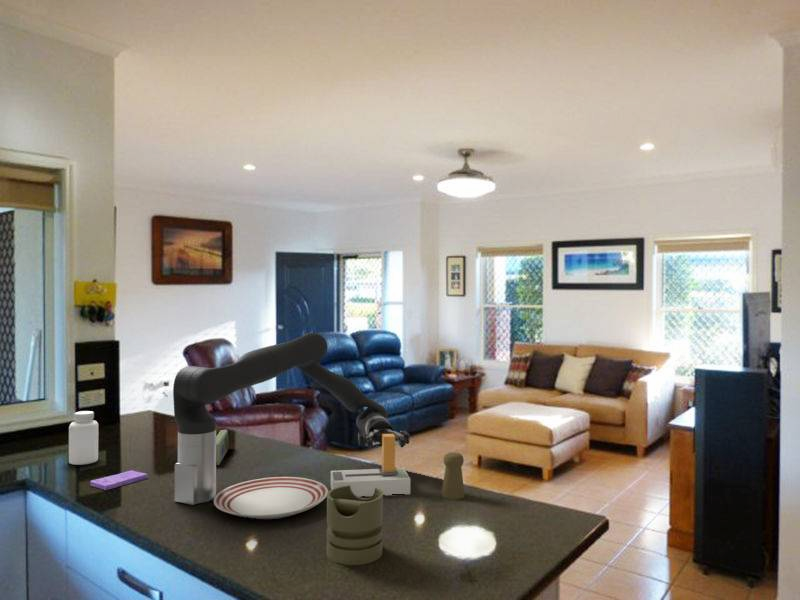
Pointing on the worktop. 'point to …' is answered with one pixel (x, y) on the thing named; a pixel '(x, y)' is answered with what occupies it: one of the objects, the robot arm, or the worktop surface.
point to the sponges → (118, 480)
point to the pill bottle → (83, 439)
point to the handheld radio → (221, 445)
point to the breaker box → (371, 481)
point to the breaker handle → (388, 455)
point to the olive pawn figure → (453, 477)
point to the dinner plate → (271, 497)
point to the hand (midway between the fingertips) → (387, 444)
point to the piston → (354, 526)
